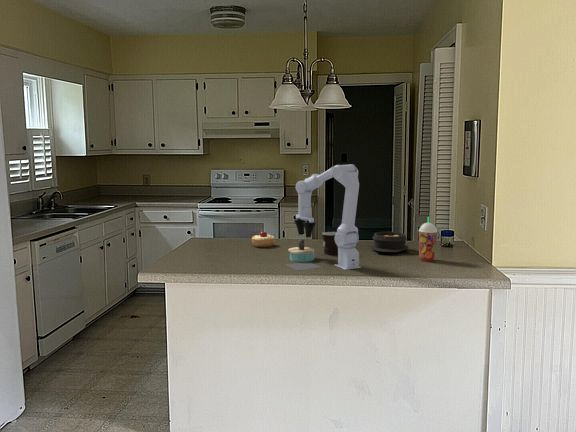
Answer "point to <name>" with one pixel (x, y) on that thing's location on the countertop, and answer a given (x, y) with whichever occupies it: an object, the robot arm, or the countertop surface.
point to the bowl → (302, 257)
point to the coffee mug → (329, 243)
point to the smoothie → (427, 241)
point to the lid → (301, 249)
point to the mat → (303, 266)
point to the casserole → (389, 242)
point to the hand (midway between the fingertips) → (304, 235)
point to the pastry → (263, 240)
